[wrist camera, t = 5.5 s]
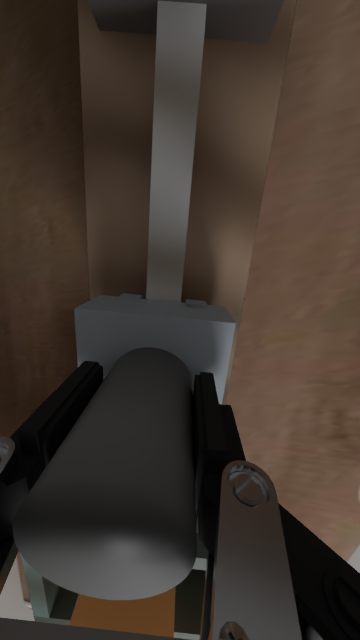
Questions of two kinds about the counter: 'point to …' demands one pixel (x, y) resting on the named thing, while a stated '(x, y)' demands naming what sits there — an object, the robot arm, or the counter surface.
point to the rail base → (215, 168)
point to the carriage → (128, 452)
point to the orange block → (127, 614)
